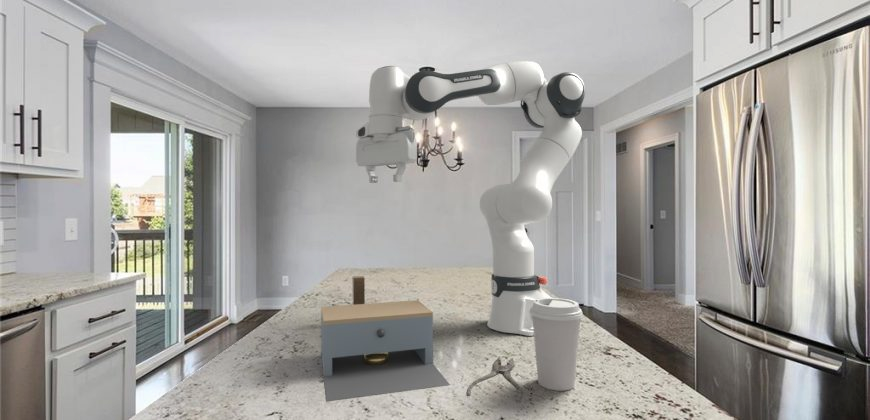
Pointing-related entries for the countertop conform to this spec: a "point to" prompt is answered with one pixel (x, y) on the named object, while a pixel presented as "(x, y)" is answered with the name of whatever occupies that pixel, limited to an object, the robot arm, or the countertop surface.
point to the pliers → (496, 370)
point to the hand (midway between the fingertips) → (385, 182)
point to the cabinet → (375, 330)
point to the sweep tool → (358, 290)
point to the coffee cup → (556, 341)
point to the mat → (380, 376)
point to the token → (376, 358)
